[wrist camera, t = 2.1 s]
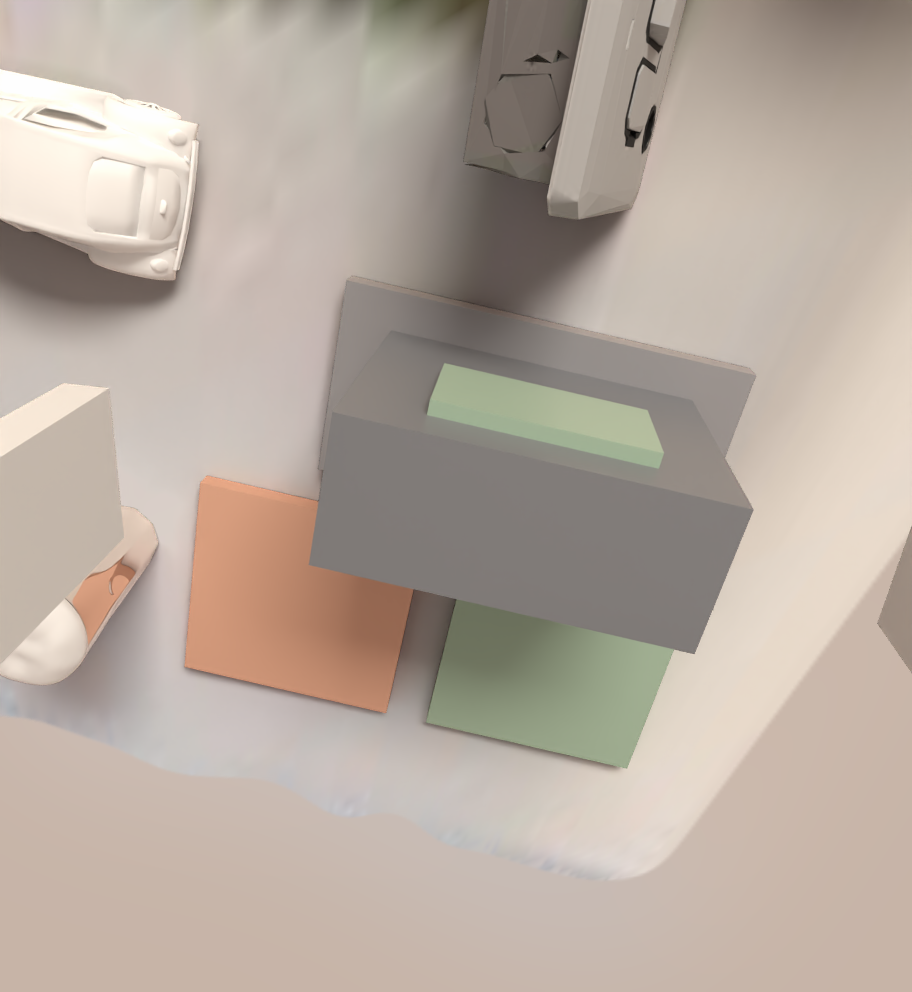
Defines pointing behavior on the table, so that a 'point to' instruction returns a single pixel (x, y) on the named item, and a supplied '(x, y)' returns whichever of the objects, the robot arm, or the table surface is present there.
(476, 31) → the table surface
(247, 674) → the pad terracotta
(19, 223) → the car
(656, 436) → the block
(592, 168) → the electrical switch
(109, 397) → the robot arm
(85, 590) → the milkshake
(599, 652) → the pad sage
